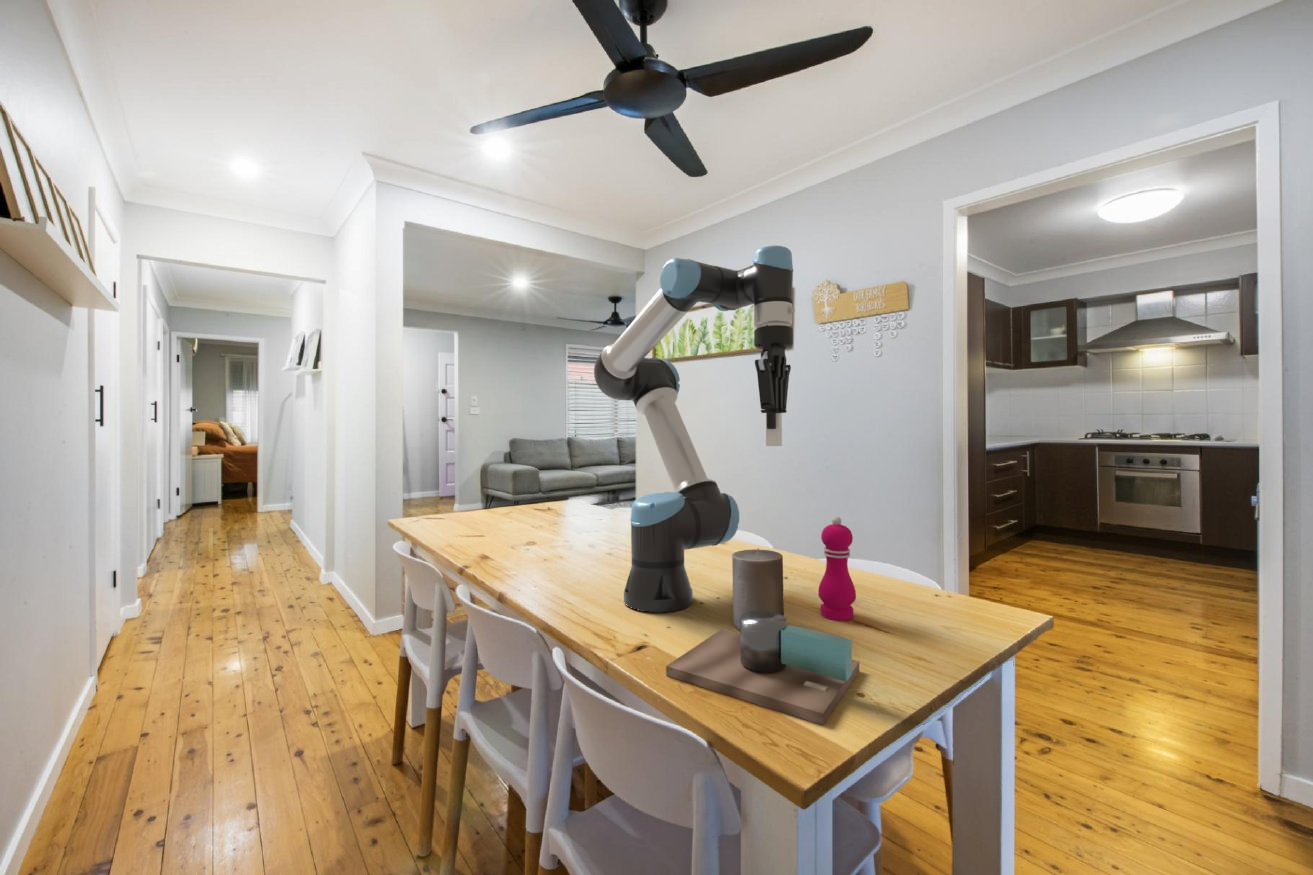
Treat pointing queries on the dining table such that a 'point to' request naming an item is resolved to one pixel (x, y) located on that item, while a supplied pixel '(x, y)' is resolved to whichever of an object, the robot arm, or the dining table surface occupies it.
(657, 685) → the dining table surface
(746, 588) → the pillar candle
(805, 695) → the base
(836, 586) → the pepper mill
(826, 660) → the cylinder with teal slab
